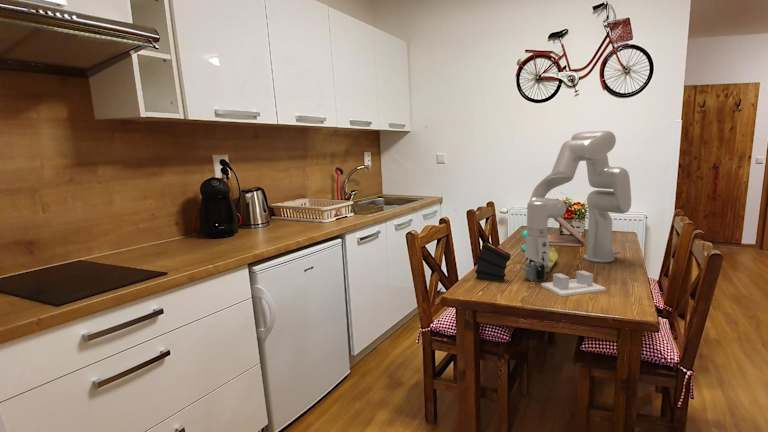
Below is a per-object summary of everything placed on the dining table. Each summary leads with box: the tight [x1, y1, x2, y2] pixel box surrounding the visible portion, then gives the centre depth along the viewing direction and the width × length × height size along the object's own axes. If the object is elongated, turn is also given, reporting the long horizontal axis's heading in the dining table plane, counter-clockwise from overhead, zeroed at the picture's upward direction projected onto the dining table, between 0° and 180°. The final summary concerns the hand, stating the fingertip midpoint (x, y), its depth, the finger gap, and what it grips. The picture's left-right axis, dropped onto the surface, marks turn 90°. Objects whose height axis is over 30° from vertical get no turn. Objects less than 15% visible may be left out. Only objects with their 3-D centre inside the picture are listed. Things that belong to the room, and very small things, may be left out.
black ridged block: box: [474, 241, 512, 282], centre depth 165 cm, size 4×13×15 cm, turn 64°
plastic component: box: [522, 247, 559, 273], centre depth 182 cm, size 20×7×10 cm
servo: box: [520, 262, 552, 282], centre depth 164 cm, size 11×4×7 cm, turn 103°
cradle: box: [540, 270, 606, 297], centre depth 152 cm, size 18×12×5 cm, turn 103°
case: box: [547, 216, 585, 247], centre depth 223 cm, size 20×21×16 cm
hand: (535, 276), depth 164 cm, fingers open, 5 cm apart
